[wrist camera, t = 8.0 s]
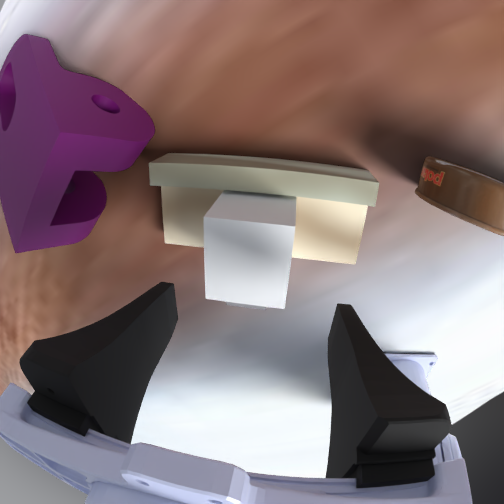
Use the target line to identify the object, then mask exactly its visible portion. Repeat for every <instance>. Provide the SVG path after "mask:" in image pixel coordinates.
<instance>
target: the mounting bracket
mask: <svg viewBox="0 0 504 504" xmlns="http://www.w3.org/2000/svg"><path fill="white" fill-rule="evenodd" d="M154 133H155V127H154V124H153V121H152V119H151V118H150V116H149V115H148V113H147V112H146V111H145V110H144V109H143V108H142V107H141V106H139V105H138V104H137V103H136V102H135V101H133V100H132V99H131V98H130V97H129V96H128V95H126V94H125V93H124V92H123V91H122V90H120V89H118V88H117V87H115V86H113V85H111V84H109V83H107V82H105V81H102V80H100V79H97V78H94V77H91V76H87V75H83V74H79V73H75V72H70V71H67V70H65V69H63V68H62V67H61V66H60V65H59V63H58V61H57V58H56V56H55V54H54V51H53V49H52V47H51V44H50V42H49V40H48V39H46V38H41V37H37V36H33V35H28V34H24V35H22V36H21V37H20V38H19V39H18V40H17V41H16V43H15V44H14V45H13V47H12V49H11V50H10V52H9V54H8V56H7V58H6V60H5V62H4V64H3V66H2V69H1V71H0V199H1V203H2V208H3V212H4V215H5V219H6V223H7V227H8V230H9V234H10V237H11V240H12V244H13V247H14V250H15V253H21V252H26V251H32V250H38V249H44V248H50V247H56V246H63V245H69V244H74V243H77V242H79V241H81V240H83V239H84V238H85V237H87V236H88V235H89V233H90V232H91V230H92V229H93V227H94V225H95V223H96V222H97V220H98V218H99V217H100V215H101V213H102V212H103V210H104V208H105V206H106V200H107V196H106V191H105V187H104V185H103V183H102V181H101V180H100V179H99V178H98V177H97V176H96V175H95V174H94V173H93V172H92V171H103V172H117V171H122V170H125V169H128V168H129V167H131V166H132V165H133V163H134V162H135V161H136V159H137V158H138V156H139V155H140V153H141V152H142V151H143V149H144V148H145V146H146V145H147V144H148V142H149V141H150V140H151V138H152V137H153V135H154Z"/></svg>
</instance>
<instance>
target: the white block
mask: <svg viewBox="0 0 504 504" xmlns="http://www.w3.org/2000/svg"><path fill="white" fill-rule="evenodd" d="M296 200H297V197H295V196H286V195H276V194H266V193H256V192H244V191H232V190H224V191H223V192H222V194H221V195H220V196H219V197H218V199H217V200H216V201H215V203H214V204H213V205H212V207H211V208H210V209H209V211H208V212H207V213H206V214H205V216H204V264H205V293H206V299H212V300H219V301H226V305H231V306H239V307H246V308H254V309H262V310H266V307H271V308H280V309H285V302H286V295H287V288H288V281H289V273H290V266H291V258H292V250H293V242H294V234H295V225H296Z"/></svg>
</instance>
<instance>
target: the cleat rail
mask: <svg viewBox="0 0 504 504" xmlns="http://www.w3.org/2000/svg"><path fill="white" fill-rule="evenodd" d="M149 176H150V186H161V196H162V212H163V226H164V238H165V243H169V244H178V245H186V246H195V247H204V216H205V214H206V213H207V212H208V211H209V209H210V208H211V207H212V205H213V204H214V203H215V201H216V200H217V199H218V197H219V196H220V195H221V194H222V192H223V191H224V190H232V191H244V192H256V193H266V194H276V195H286V196H295V197H297V200H296V225H295V234H294V242H293V250H292V257H293V258H302V259H311V260H320V261H329V262H338V263H347V264H355V263H356V259H357V255H358V250H359V246H360V241H361V237H362V232H363V227H364V222H365V217H366V212H367V207H368V206H374V207H375V203H376V198H377V193H378V187H379V182H378V181H377V180H376V179H375V177H374V176H373V175H372V174H371V173H370V172H369V171H368V170H363V169H356V168H350V167H343V166H335V165H328V164H320V163H312V162H303V161H294V160H284V159H273V158H261V157H248V156H232V155H213V154H185V153H168V154H166V155H164V156H162V157H160V158H158V159H156V160H154V161H152V162H150V163H149Z"/></svg>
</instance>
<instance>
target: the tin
mask: <svg viewBox="0 0 504 504" xmlns="http://www.w3.org/2000/svg"><path fill="white" fill-rule="evenodd" d="M415 193H416V194H417V195H418V196H419V197H420V198H421V199H423V200H425V201H426V202H428V203H429V204H431V205H433V206H435V207H437V208H439V209H441V210H443V211H445V212H447V213H449V214H451V215H453V216H455V217H458V218H460V219H462V220H464V221H467V222H469V223H472V224H474V225H476V226H479V227H481V228H483V229H486V230H488V231H491V232H493V233H496V234H498V235H502V236H504V183H503V182H501V181H499V180H497V179H494V178H492V177H490V176H487V175H485V174H482V173H480V172H477V171H474V170H472V169H469V168H466V167H463V166H460V165H457V164H454V163H451V162H448V161H445V160H442V159H438V158H435V157H431V156H429V157H426V158H425V161H424V164H423V167H422V172H421V176H420V180H419V184H418V188H416V190H415Z"/></svg>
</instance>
